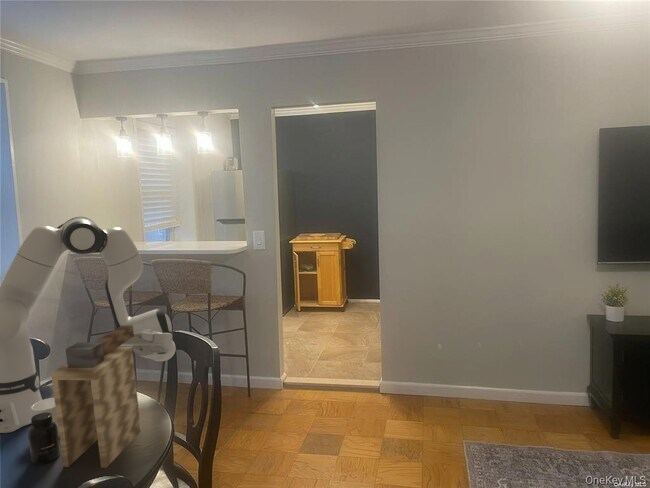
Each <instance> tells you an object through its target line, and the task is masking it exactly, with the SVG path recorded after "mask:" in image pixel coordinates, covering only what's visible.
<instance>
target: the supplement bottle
mask: <svg viewBox="0 0 650 488" xmlns="http://www.w3.org/2000/svg"><path fill="white" fill-rule="evenodd" d="M30 424H31V427H30V428H29V429H28V434H27V435H28V443H29V452H30V453H29V454H30V460H31V462H32V463H33V464H34V465H44V464H48V463H51V462H53V461H55V460H56V459H57V458H58V457H59V456H60V455H61V444H60V437H59V436H58V427H57V424H56V423H55V422H53V419H52V414H51V413H49V412H44V413H40V414H37V415H35V416H33V417H32V418H31V423H30Z"/></svg>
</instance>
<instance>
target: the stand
mask: <svg viewBox="0 0 650 488" xmlns="http://www.w3.org/2000/svg"><path fill="white" fill-rule="evenodd" d="M133 352H134V351H133V348H132V347H117V348H116V349H114V350H113V351H111V352H110V353H108V354H107V355H105V356H104V361H102V362H101V363H100V364H98V365H97V366H95V367H94V368H68V365H67V362H66V363H64V364H63V365H60V366H59V367H58V368H56V369H54V370H52V371H51V372H50V373H51V381H52V382H51V383H52V388H53V389H52V390H53V398H54V399H55V406H56V414H57V421H58V429H59V445H60V453H61V458H62V466H63V467H64V468H66V467H67V468H70V466H72V465H73V463H75V462H76V461H77V460H78V459H79V458H80V457H81V456H82V455H83V454H84V453H85V452H86V451H87V450H88V449H89V448H90V447H91V446H92V445H94V444H95V443H96V442H97V443H98V444H97V445H98V455H99V461H100V462H99V463H100V468H101V469H107V468H109V466H110V465H111V464H112V463H113V462H114V461H115V460H116V458H117V457H118V456H119V455H120V454H121V453H122V452H123V451H124V450H125V449H126V448H127V446H128V445H129V444H130V443H131V442H132V441H133V440H134V439H135V438H136V436H137V435H139V434H140V432H142V431H141V430H142V428H141V421H140V419H141V418H140V412H139V401H138V393H137V392H138V391H137V382H136V380H137V379H136V373H135V361H134V355H133Z"/></svg>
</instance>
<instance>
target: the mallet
mask: <svg viewBox="0 0 650 488" xmlns="http://www.w3.org/2000/svg"><path fill="white" fill-rule="evenodd" d="M108 333H109V334H107V333H106V334H107V335H106V334H105V335H104V336H102V337H100V338H99V339H96V340H95V341H92V342H76V343H74V344H72V345H71V346H69V347H67V348H65V354H66V355H65V356H66V363H67V365H68V368H94V367H95V366H97V365H98V364H100V363H101V362H102V361H104V356H105V355H107V354H108V353H110V352H111V351H113V350H114V349H116V348H117V347H119V346H120V345H122V344H123V343H125V342H126V341H128V340H129V339H131V338H132V337H134V332H133V325H122V326H120V327H119V328H117V329H116V328H115V329H113V330H112V331H110V332H108Z"/></svg>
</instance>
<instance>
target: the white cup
mask: <svg viewBox="0 0 650 488" xmlns="http://www.w3.org/2000/svg"><path fill="white" fill-rule="evenodd" d="M31 410H32V415H33V416H35V415H37V414H40V413H44V412H49V413H51V414H52V419H53V422H55V423H56V424H57V427H58V421H57V414H56V406H55V399H54V397H49V398H45V399H42V400H41V401H39V402H37V403H35V404H33V405H32V407H31ZM58 436H59V429H58Z"/></svg>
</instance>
